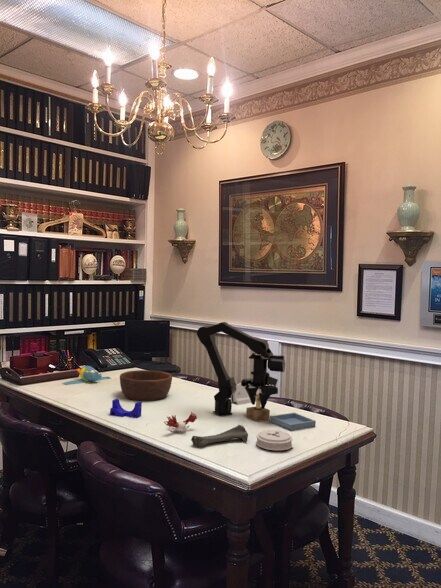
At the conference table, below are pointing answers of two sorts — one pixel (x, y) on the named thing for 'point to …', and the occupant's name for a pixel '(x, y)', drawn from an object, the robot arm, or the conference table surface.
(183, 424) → the figurine
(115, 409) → the cable clip
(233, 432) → the bone
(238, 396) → the hinge
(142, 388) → the wooden bowl
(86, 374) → the blue toy parrot
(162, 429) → the conference table surface
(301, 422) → the tray
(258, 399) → the brass pin
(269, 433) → the lid
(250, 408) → the pin block
